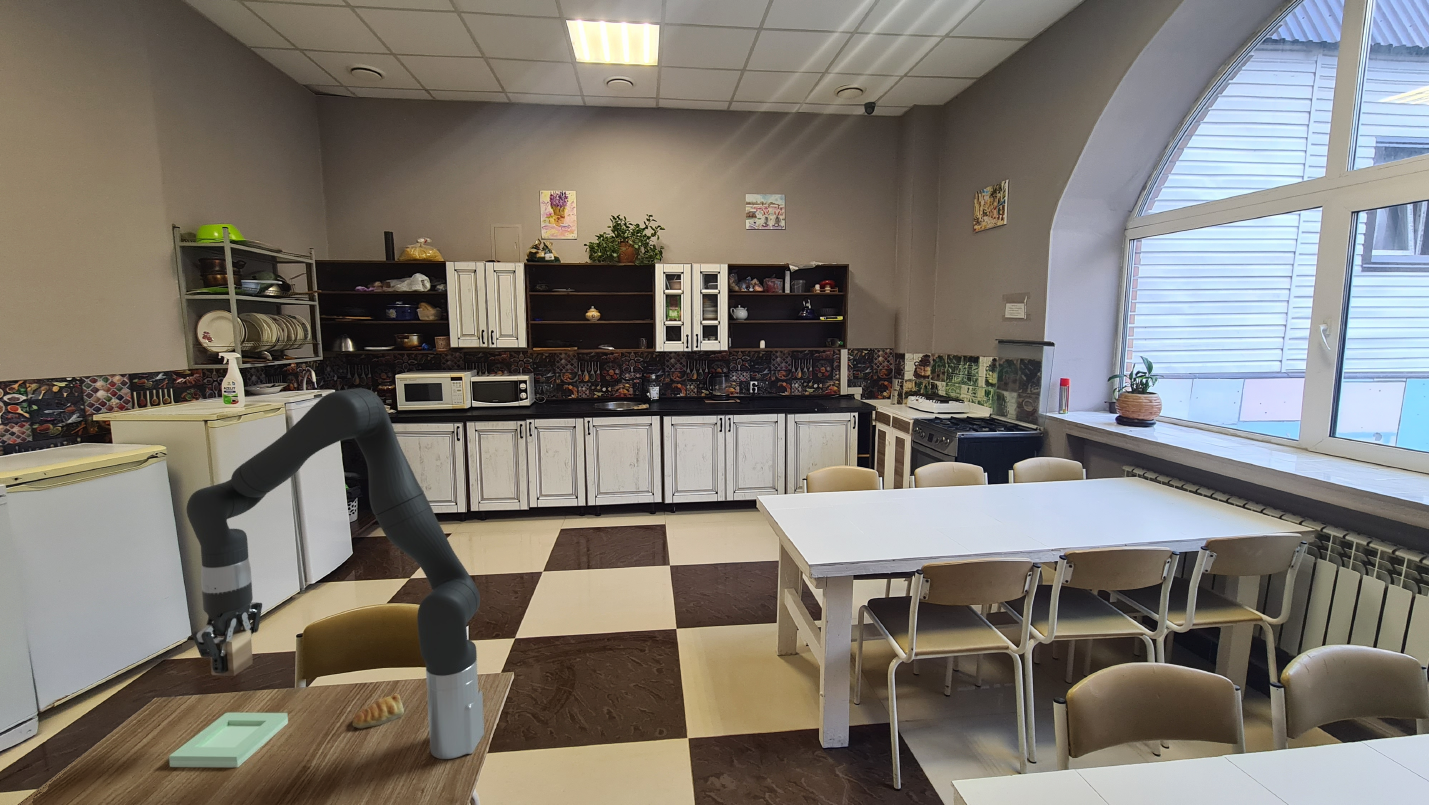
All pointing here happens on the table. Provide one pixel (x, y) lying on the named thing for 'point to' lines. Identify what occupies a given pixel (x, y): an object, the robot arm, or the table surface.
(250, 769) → the table surface
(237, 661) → the wooden block
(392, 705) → the pastry
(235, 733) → the plate
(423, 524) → the robot arm
